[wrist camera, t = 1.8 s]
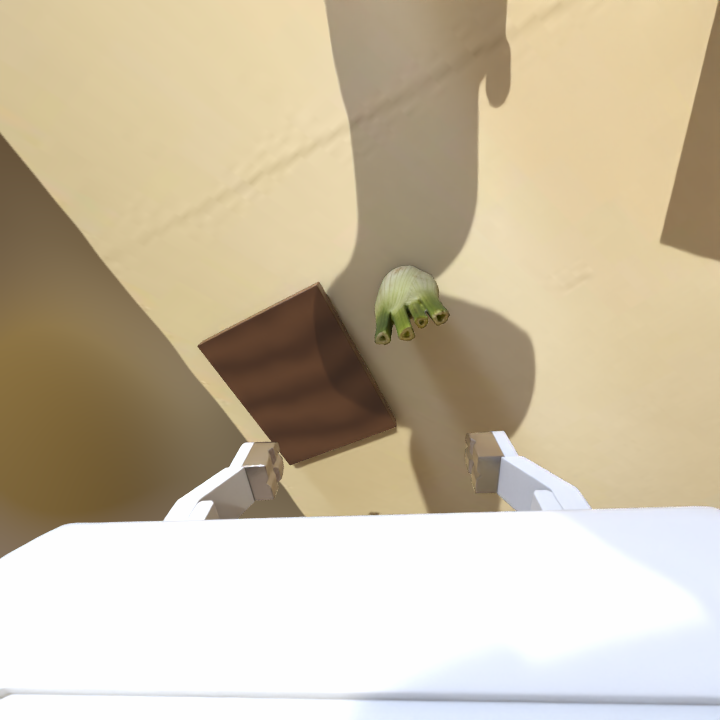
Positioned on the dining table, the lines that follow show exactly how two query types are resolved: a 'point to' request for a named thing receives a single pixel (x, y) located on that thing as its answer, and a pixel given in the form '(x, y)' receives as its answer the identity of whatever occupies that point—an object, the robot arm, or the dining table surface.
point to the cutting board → (300, 376)
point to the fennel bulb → (407, 303)
